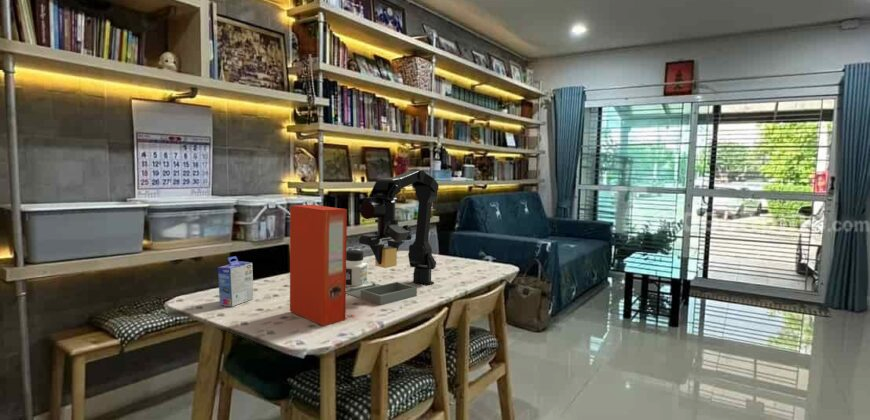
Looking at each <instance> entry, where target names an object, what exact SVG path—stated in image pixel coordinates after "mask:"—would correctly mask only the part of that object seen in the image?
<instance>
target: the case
mask: <svg viewBox="0 0 870 420" xmlns="http://www.w3.org/2000/svg"><path fill="white" fill-rule="evenodd" d="M380 285H381V286H376V287H372V288H367V289H363V290H361V298H360V300H363V301H366V302H370V303H372V304H376V305H377V306H383V305H387V304H390V303H395V302H399V301H402V300H406V299H410V298H414V297H417V296H418V295H417V293H418V287H416V286H414V285H409V284H406V283H403V282H399V281H394V282H391V283H385V284H380Z"/></svg>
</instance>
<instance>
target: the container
mask: <svg viewBox="0 0 870 420" xmlns="http://www.w3.org/2000/svg"><path fill="white" fill-rule="evenodd" d="M367 283H368V262H364V251H363V250H361V249H359V248H358V249H355V248H353V249H348V250H347V249H346V288H349V287H357V286H362V285H365V284H367Z"/></svg>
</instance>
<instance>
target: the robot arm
mask: <svg viewBox="0 0 870 420" xmlns="http://www.w3.org/2000/svg"><path fill="white" fill-rule="evenodd" d="M410 185H411V186H412V187H413V189H414V190H415V191H414V195H415V197H416V199H417V202H418V208H417V214H416V215H417V216H416V217H417V219H416V227H415V238H414V242H413V243H412V244H409V246H408V254H407V257H408V263H409V266H410V268H413V273H412V275H413V276H412V277H413V279H412V281H411V283H414V284H417V285H421V286H428V285H432V284H435V282H434V281H433V280H432V270H435V269H436V268H437V267H436V266H437V260H435V258H434V256H433V255H432V254H433V252H432V251H433V249H432V247H431V244H430V243H429V238H430V225H431V215H432V205H433V202H434V201H435V199H436V198H437V196H438V191H439V183H438V182H437V180H436V179H435V178H434V177H432V176H431V175H429V174H428V173H426V172H425V171H424V169H418V168H417V169H416V168H415V169H414V168H413V169H409V171H407V172H404V173H400V174H398V175H395V176H394V177H393V176H392V177H382V178H377V179H376V180H375V183H374V185H373V187H372V189H371V191H370V193H369V196H368V197H365V198H364V201H363V202H362V203H361V205H360V206H359V213H360V215H361V217H362V218H363V219H364V220H365V219H366V220H371V219H374V223H377V230H376V231H374V234H373V233H366V234H360V235H359V238H358V243H359V245H360V244H361V245H364V246H365V245H366V246H368V247H370V249H371V251H372V253H373V255H374V257H375V258H376V260H377V262H378V264H381V262H382V248H383V247H384V246H385V244H383V241H387V246H391V247H394V248H397V251H398V250H399V247H400V246H401V245H403V244H404V243H405V242H406V241H410V240H412V233H411V232H412V230H411V225H409V224H404V225H399V221H398V219H396V203H399V202H400V200H399V199H398V198H397V197H396V196H397V195H399V194H401V191H402V189H403V188H406V187H409V186H410Z"/></svg>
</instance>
